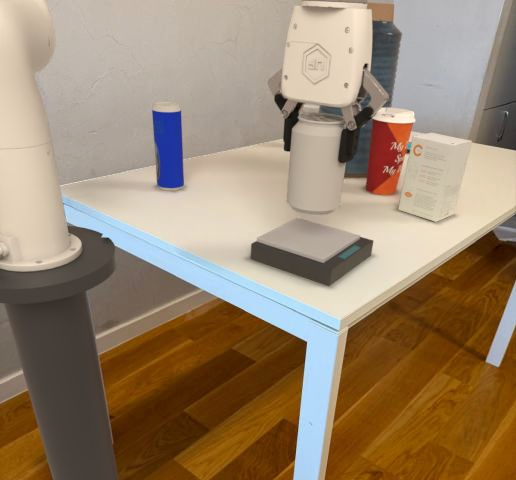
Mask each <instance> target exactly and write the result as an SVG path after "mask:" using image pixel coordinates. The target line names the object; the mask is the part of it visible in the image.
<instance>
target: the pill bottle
mask: <svg viewBox="0 0 516 480" xmlns="http://www.w3.org/2000/svg"><path fill="white" fill-rule="evenodd" d="M301 111H302V114H306V113H319V105H317V104H304V106H303V108H302V110H301Z"/></svg>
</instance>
